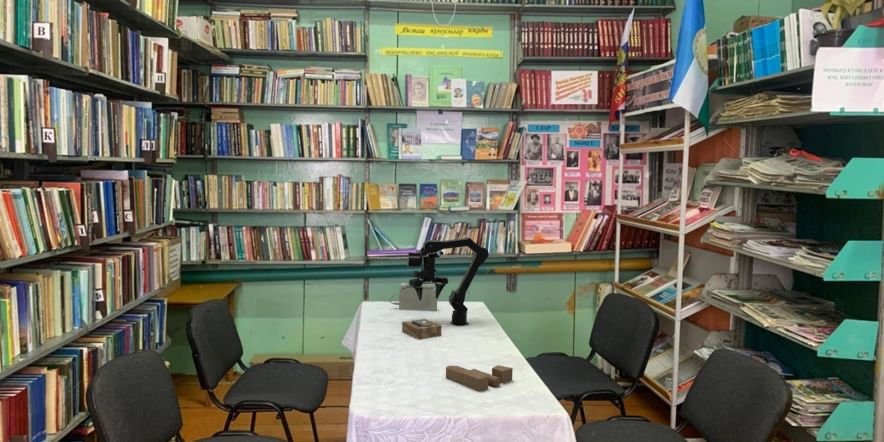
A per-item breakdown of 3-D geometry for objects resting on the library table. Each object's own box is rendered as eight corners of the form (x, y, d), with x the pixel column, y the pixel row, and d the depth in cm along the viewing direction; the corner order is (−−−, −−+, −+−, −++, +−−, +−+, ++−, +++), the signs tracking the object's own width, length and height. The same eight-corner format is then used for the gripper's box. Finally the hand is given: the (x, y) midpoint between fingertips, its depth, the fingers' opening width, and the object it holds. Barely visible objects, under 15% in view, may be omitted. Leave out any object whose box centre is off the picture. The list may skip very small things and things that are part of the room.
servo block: (419, 329, 276) (419, 317, 276) (431, 335, 268) (431, 322, 268) (412, 331, 274) (412, 318, 274) (423, 336, 266) (423, 323, 265)
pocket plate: (424, 328, 280) (424, 318, 280) (441, 335, 269) (441, 325, 268) (402, 331, 274) (402, 321, 273) (418, 339, 262) (418, 329, 262)
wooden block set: (481, 377, 202) (444, 363, 215) (481, 393, 202) (444, 379, 215) (515, 366, 213) (478, 354, 226) (514, 382, 213) (477, 368, 227)
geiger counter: (438, 283, 317) (390, 281, 320) (436, 285, 311) (388, 283, 313) (437, 309, 318) (390, 307, 321) (436, 312, 312) (388, 310, 314)
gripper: (436, 263, 297) (435, 294, 298) (403, 265, 286) (402, 298, 288) (449, 266, 287) (448, 298, 289) (415, 269, 277) (414, 302, 279)
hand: (428, 299), depth 286 cm, fingers open, 9 cm apart
